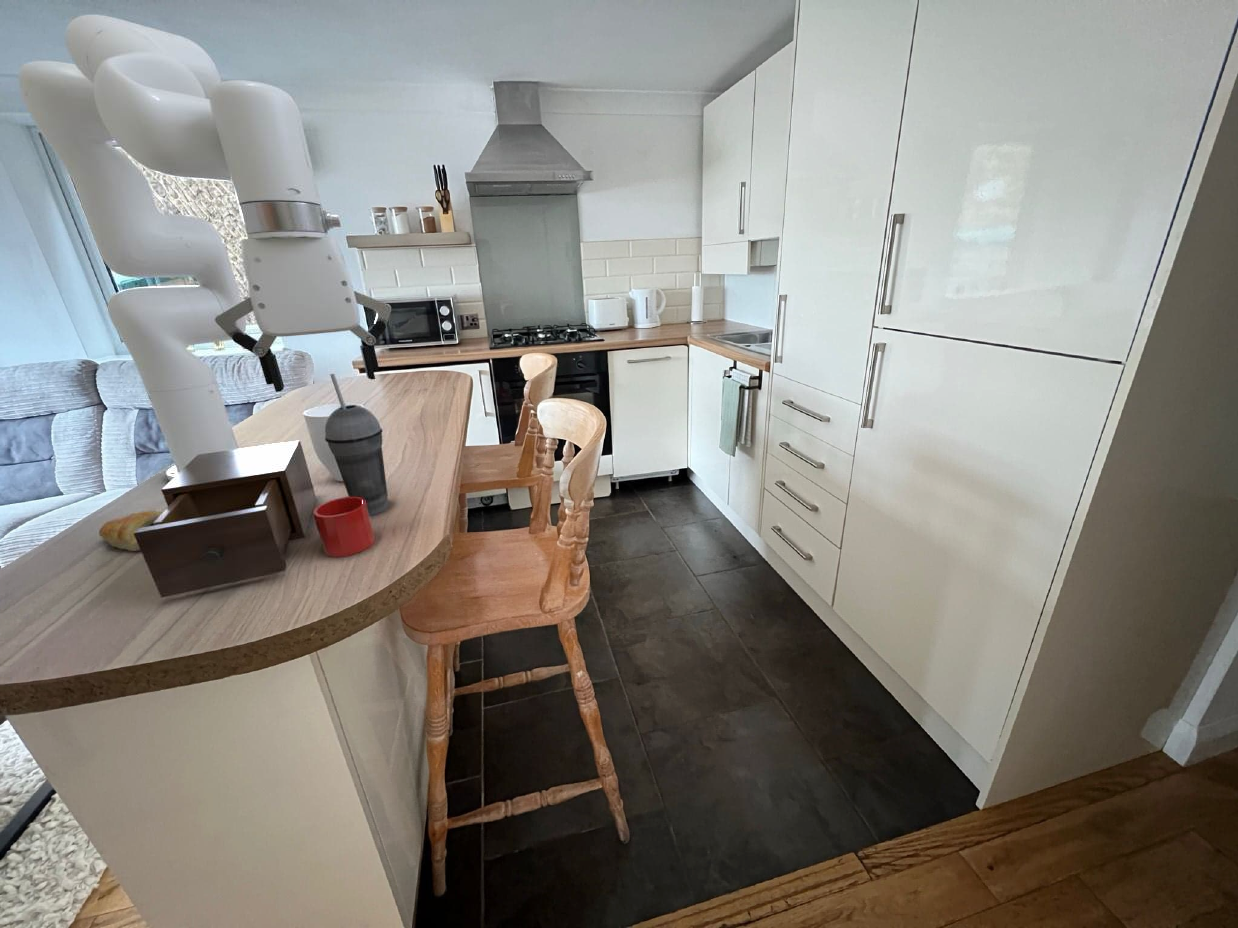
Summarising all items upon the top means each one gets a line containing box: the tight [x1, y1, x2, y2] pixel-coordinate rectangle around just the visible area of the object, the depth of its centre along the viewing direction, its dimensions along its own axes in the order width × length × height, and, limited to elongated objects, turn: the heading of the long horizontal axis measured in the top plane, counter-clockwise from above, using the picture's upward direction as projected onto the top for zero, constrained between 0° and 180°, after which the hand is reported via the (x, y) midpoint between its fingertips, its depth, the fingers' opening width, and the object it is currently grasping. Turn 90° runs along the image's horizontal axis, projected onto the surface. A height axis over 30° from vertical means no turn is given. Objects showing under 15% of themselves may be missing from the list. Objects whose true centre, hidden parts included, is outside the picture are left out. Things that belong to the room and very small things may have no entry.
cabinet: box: [160, 440, 317, 541], centre depth 69 cm, size 14×13×10 cm
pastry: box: [98, 509, 164, 552], centre depth 68 cm, size 9×7×4 cm
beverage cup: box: [325, 373, 389, 516], centre depth 71 cm, size 7×7×20 cm
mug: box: [302, 402, 365, 482], centre depth 86 cm, size 12×9×12 cm
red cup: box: [312, 496, 376, 558], centre depth 64 cm, size 6×6×6 cm
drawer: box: [133, 477, 294, 599], centre depth 59 cm, size 14×11×8 cm
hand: (327, 383), depth 60 cm, fingers open, 9 cm apart
